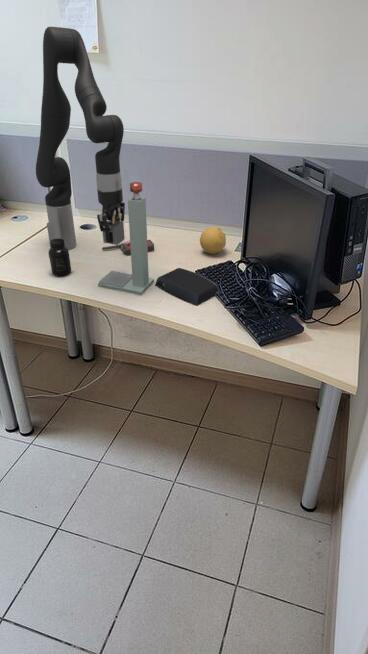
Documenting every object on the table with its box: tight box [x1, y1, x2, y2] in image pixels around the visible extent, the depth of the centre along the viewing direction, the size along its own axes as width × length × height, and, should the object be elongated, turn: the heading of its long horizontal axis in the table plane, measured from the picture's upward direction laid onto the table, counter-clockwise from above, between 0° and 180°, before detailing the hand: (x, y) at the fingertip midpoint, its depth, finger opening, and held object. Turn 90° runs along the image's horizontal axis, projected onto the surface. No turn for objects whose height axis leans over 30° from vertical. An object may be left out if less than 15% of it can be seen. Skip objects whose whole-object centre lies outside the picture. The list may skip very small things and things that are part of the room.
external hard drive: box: [154, 267, 220, 307], centre depth 157 cm, size 13×19×4 cm
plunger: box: [129, 181, 143, 200], centre depth 142 cm, size 4×4×8 cm
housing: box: [102, 220, 126, 246], centre depth 152 cm, size 5×5×7 cm
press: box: [97, 195, 155, 296], centre depth 152 cm, size 16×10×30 cm, turn 69°
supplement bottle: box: [48, 239, 72, 278], centre depth 164 cm, size 7×7×12 cm
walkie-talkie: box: [101, 239, 155, 257], centre depth 182 cm, size 9×4×20 cm
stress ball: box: [199, 226, 227, 255], centre depth 179 cm, size 10×10×10 cm
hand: (113, 239), depth 153 cm, fingers closed on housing, 5 cm apart
